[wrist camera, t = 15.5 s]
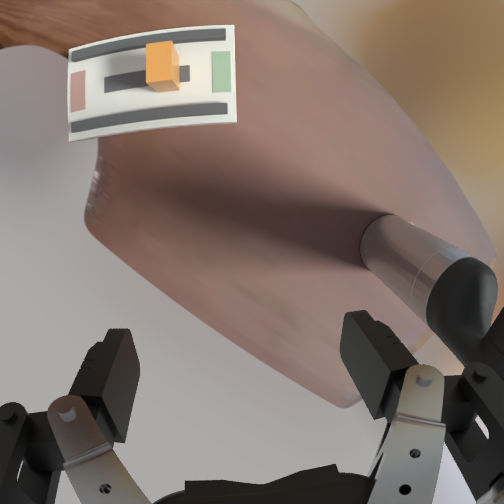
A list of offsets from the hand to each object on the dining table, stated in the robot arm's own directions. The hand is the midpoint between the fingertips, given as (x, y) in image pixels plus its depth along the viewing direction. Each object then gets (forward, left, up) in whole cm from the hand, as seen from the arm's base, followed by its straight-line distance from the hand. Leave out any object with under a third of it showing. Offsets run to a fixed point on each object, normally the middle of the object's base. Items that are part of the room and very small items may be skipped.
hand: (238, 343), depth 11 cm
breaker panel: (+8, -15, -30) cm, 35 cm away
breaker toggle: (+5, -15, -26) cm, 30 cm away
